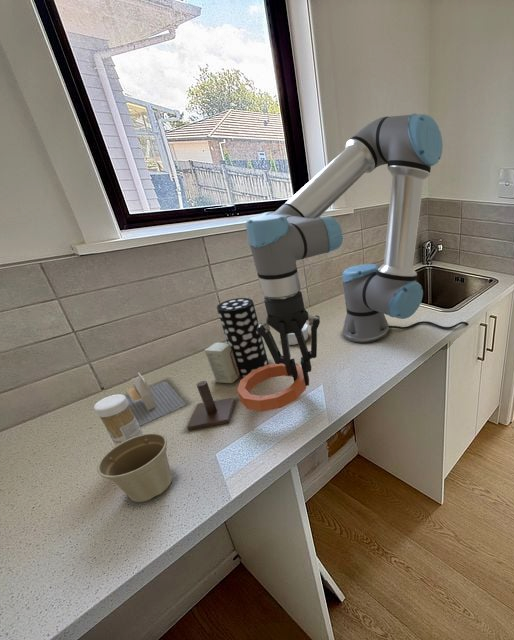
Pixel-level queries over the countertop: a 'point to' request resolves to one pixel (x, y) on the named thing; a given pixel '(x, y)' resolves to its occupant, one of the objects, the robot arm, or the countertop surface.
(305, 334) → the ramekin
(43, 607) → the countertop surface
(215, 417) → the stand
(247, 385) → the ring
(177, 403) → the architectural model
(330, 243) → the robot arm
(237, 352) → the spotted tube
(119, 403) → the sprinkles bottle
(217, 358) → the pale small box
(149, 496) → the flower pot
